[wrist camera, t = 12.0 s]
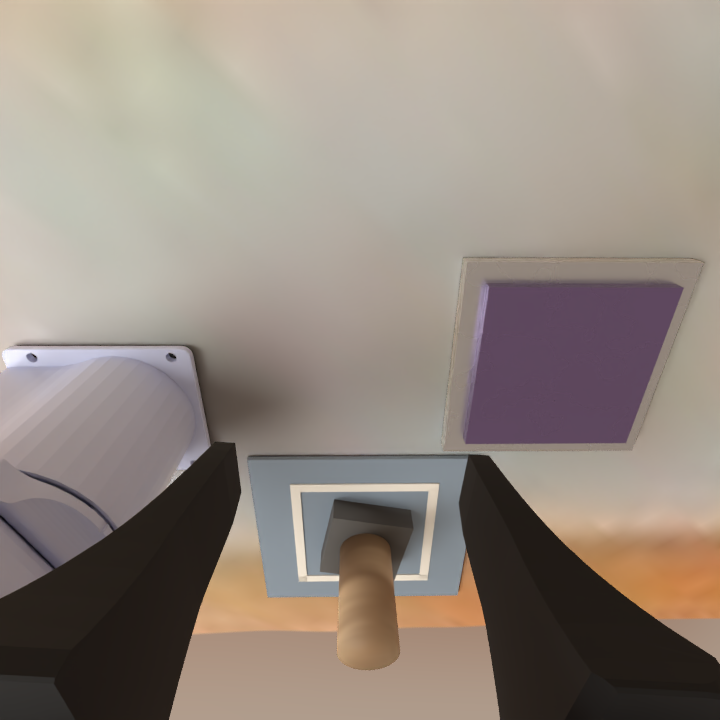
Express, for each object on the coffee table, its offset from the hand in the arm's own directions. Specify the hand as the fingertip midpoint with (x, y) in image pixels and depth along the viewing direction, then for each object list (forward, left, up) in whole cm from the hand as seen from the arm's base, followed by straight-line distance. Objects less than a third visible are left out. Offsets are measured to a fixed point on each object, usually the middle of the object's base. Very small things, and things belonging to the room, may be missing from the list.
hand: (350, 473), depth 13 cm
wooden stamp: (+1, -14, -10) cm, 17 cm away
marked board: (+1, -14, -10) cm, 17 cm away
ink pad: (+11, -1, -10) cm, 15 cm away
